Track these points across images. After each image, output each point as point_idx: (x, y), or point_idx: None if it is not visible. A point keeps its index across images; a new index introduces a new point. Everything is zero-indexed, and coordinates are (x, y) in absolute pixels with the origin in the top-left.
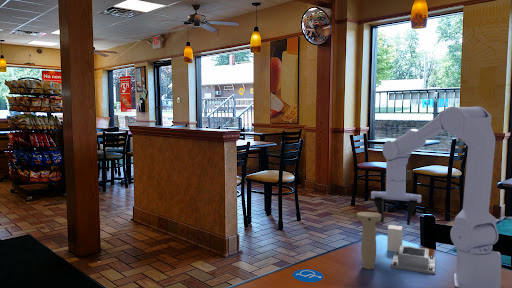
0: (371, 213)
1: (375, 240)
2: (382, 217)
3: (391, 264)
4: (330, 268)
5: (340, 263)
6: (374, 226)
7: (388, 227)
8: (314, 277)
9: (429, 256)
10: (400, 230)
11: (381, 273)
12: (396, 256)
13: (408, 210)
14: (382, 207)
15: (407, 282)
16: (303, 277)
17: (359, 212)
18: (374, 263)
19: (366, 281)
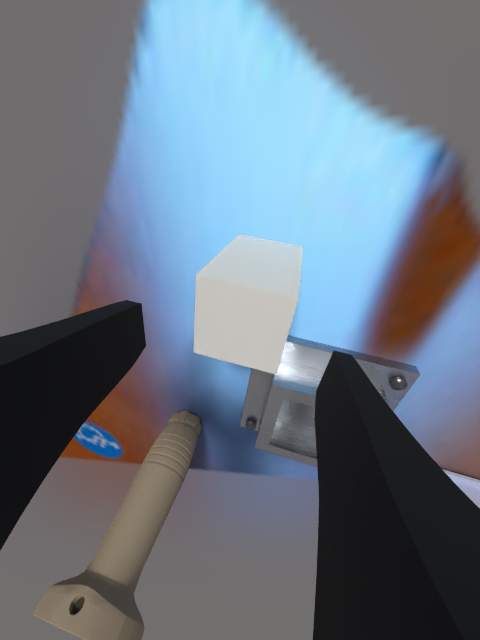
0: (85, 637)
1: (169, 510)
2: (119, 379)
3: (241, 424)
4: (116, 420)
5: (124, 399)
6: (138, 577)
7: (196, 336)
8: (109, 447)
9: (395, 369)
10: (271, 370)
11: (220, 441)
12: (260, 376)
13: (325, 572)
14: (38, 457)
15: (274, 473)
16: (94, 446)
17: (36, 615)
18: (198, 426)
19: (195, 464)
